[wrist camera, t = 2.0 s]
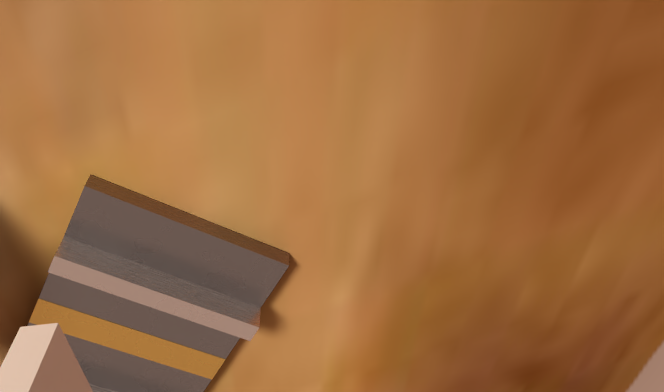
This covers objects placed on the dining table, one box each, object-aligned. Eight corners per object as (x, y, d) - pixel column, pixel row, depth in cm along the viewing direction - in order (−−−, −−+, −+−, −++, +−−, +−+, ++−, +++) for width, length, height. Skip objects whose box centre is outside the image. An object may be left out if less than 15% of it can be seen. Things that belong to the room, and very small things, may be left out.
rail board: (0, 392, 47) (-16, 427, 45) (90, 174, 36) (75, 204, 34) (165, 437, 51) (158, 472, 49) (289, 253, 41) (288, 285, 38)
